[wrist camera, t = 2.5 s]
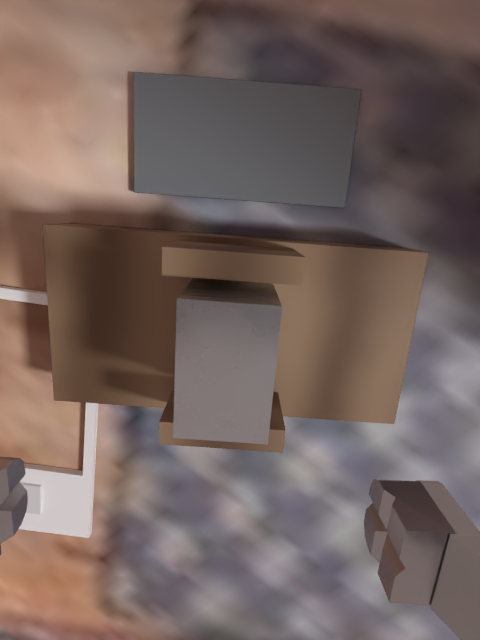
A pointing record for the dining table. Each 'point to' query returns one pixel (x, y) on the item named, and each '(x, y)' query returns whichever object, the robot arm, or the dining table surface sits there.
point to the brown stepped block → (237, 265)
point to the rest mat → (243, 139)
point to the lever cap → (225, 360)
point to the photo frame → (59, 470)
